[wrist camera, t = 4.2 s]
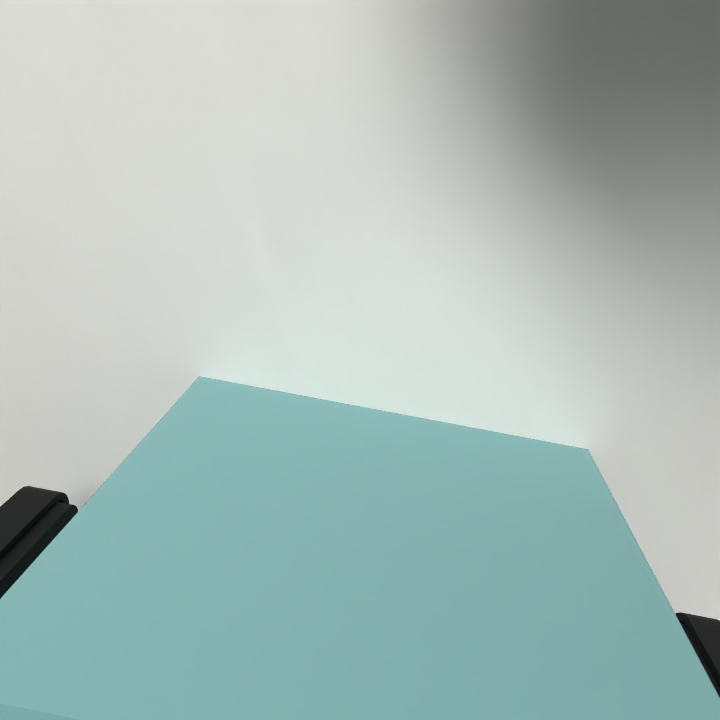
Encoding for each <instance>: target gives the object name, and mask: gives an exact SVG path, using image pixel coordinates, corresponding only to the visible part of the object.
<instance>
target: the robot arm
mask: <svg viewBox="0 0 720 720" xmlns="http://www.w3.org/2000/svg"><path fill="white" fill-rule="evenodd" d="M77 513H78V509H77V507H76V506H75V505H71V504H69V500H68V497H67V495H66V494H64V493H62V492H57V491H51V490H46V489H41V488H36V487H31V486H26V487H23V488H21V489H20V490H19V491H17V492H16V493H15V494H14V495H13V496H12V497H11V498H10V499H9V500H7V501H6V502H5V503H4V504H3V505H2V506H1V507H0V599H1V598H2V597H3V595H4V594H5V593H6V592H7V591H8V590H9V589H10V588H11V586H12V585H13V584H14V583H15V582H16V581H17V580H18V579H19V578H20V576H21V575H22V574H23V573H24V572H25V571H26V570H27V569H28V567H29V566H30V565H31V564H32V563H33V562H34V561H35V560H36V558H37V557H38V556H39V555H40V554H41V553H42V552H43V551H44V550H45V548H46V547H47V546H48V545H49V544H50V543H51V542H52V541H53V539H54V538H55V537H56V536H57V535H58V534H59V533H60V532H61V531H62V529H63V528H64V527H65V526H66V525H67V524H68V523H69V522H70V520H71V519H72V518H73V517H74V516H75V515H76V514H77ZM675 615H676V617H677V618H678V620H679V622H680V624H681V626H682V628H683V630H684V632H685V634H686V635H687V637H688V639H689V641H690V643H691V645H692V647H693V649H694V651H695V652H696V654H697V656H698V658H699V660H700V662H701V664H702V666H703V668H704V669H705V671H706V673H707V675H708V677H709V679H710V681H711V683H712V684H713V686H714V688H715V690H716V692H717V694H718V696H719V698H720V621H719V620H717V619H712V618H706V617H701V616H696V615H691V614H686V613H676V614H675Z"/></svg>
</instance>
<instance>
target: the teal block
mask: <svg viewBox="0 0 720 720" xmlns="http://www.w3.org/2000/svg"><path fill="white" fill-rule="evenodd" d="M0 720H720V698H719V696H718V694H717V692H716V690H715V688H714V686H713V684H712V683H711V681H710V679H709V677H708V675H707V673H706V671H705V669H704V668H703V666H702V664H701V662H700V660H699V658H698V656H697V654H696V652H695V651H694V649H693V647H692V645H691V643H690V641H689V639H688V637H687V635H686V634H685V632H684V630H683V628H682V626H681V624H680V622H679V620H678V618H677V617H676V615H675V613H674V611H673V609H672V607H671V605H670V603H669V602H668V600H667V598H666V596H665V594H664V592H663V590H662V588H661V586H660V585H659V583H658V581H657V579H656V577H655V575H654V573H653V571H652V569H651V568H650V566H649V564H648V562H647V560H646V558H645V556H644V554H643V552H642V551H641V549H640V547H639V545H638V543H637V541H636V539H635V537H634V535H633V534H632V532H631V530H630V528H629V526H628V524H627V522H626V520H625V519H624V517H623V515H622V513H621V511H620V509H619V507H618V505H617V503H616V502H615V500H614V498H613V496H612V494H611V492H610V490H609V488H608V486H607V485H606V483H605V481H604V479H603V477H602V475H601V473H600V471H599V469H598V468H597V466H596V464H595V462H594V460H593V458H592V456H591V454H590V453H589V451H588V449H583V448H577V447H572V446H567V445H561V444H556V443H551V442H546V441H540V440H535V439H530V438H524V437H519V436H514V435H508V434H503V433H498V432H492V431H487V430H482V429H476V428H471V427H466V426H461V425H455V424H450V423H445V422H439V421H434V420H429V419H423V418H418V417H413V416H407V415H402V414H397V413H392V412H386V411H381V410H376V409H370V408H365V407H360V406H354V405H349V404H344V403H338V402H333V401H328V400H322V399H317V398H312V397H307V396H301V395H296V394H291V393H285V392H280V391H275V390H269V389H264V388H259V387H253V386H248V385H243V384H237V383H232V382H227V381H222V380H216V379H211V378H206V377H200V376H199V377H198V378H197V380H196V381H195V382H194V383H193V384H192V385H191V386H190V387H189V389H188V390H187V391H186V392H185V393H184V394H183V395H182V396H181V397H180V399H179V400H178V401H177V402H176V403H175V404H174V405H173V406H172V408H171V409H170V410H169V411H168V412H167V413H166V414H165V415H164V416H163V418H162V419H161V420H160V421H159V422H158V423H157V424H156V425H155V427H154V428H153V429H152V430H151V431H150V432H149V433H148V434H147V435H146V437H145V438H144V439H143V440H142V441H141V442H140V443H139V444H138V446H137V447H136V448H135V449H134V450H133V451H132V452H131V453H130V455H129V456H128V457H127V458H126V459H125V460H124V461H123V462H122V463H121V465H120V466H119V467H118V468H117V469H116V470H115V471H114V472H113V474H112V475H111V476H110V477H109V478H108V479H107V480H106V481H105V482H104V484H103V485H102V486H101V487H100V488H99V489H98V490H97V491H96V493H95V494H94V495H93V496H92V497H91V498H90V499H89V500H88V501H87V503H86V504H85V505H84V506H83V507H82V508H81V509H80V510H79V512H78V513H77V514H76V515H75V516H74V517H73V518H72V519H71V520H70V522H69V523H68V524H67V525H66V526H65V527H64V528H63V529H62V531H61V532H60V533H59V534H58V535H57V536H56V537H55V538H54V539H53V541H52V542H51V543H50V544H49V545H48V546H47V547H46V548H45V550H44V551H43V552H42V553H41V554H40V555H39V556H38V557H37V558H36V560H35V561H34V562H33V563H32V564H31V565H30V566H29V567H28V569H27V570H26V571H25V572H24V573H23V574H22V575H21V576H20V578H19V579H18V580H17V581H16V582H15V583H14V584H13V585H12V586H11V588H10V589H9V590H8V591H7V592H6V593H5V594H4V595H3V597H2V598H1V599H0Z"/></svg>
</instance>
